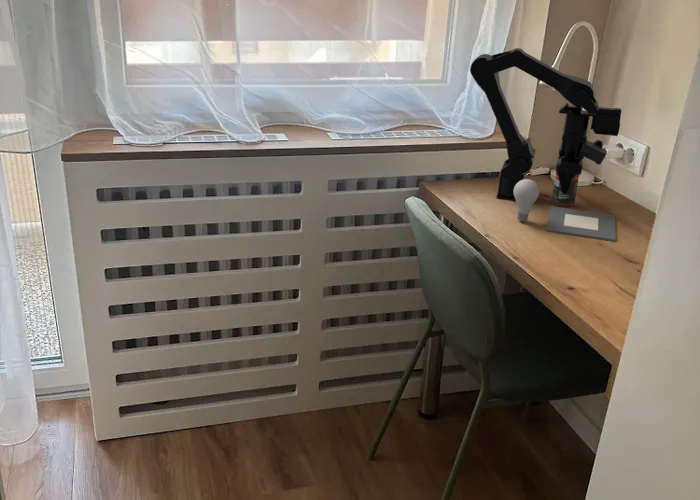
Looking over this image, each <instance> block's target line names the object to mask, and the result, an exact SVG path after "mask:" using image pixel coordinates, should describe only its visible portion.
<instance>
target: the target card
mask: <svg viewBox="0 0 700 500" xmlns="http://www.w3.org/2000/svg"><path fill="white" fill-rule="evenodd" d="M547 216H548V217H547V221H546V226H545V227H546V228H545V232H547V233H555V234H561V235H568V236H575V237H582V238H590V239H593V240H594V239H596V240H602V241H609V242H614V243H615V242H616V241H617V239H616V238H617V237H616V217H615V215H614V214H607V213H599V212H591V211H585V210H577V209H571V208H563V207H557V206H549V211H548V215H547Z"/></svg>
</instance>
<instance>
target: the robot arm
mask: <svg viewBox="0 0 700 500" xmlns="http://www.w3.org/2000/svg"><path fill="white" fill-rule="evenodd" d="M510 68H517V69H518V70H521V71H523V72H524V73H526V74H528V75H529V76H531V77H532V78H533V77H534V78H535V79H537V80H539V81H540V82H542V83H543V84H546V85H547V86H550V87H551V88H552V89H555V90H556V91H557V92H558V93H559V94H560V95H561V96H562V97H563V98H564V99H565V100H566V101H568V102H566V103H565V104H563V106H561V107H559V110H558V112H559V114H564V115H565V118H564V119H565V120H564V125H563V131H562V137H561V143H560V145H559V150H558V158H557V161H556V166H555V173H556V172H557V175H558V178H559V182H560V186H561V190H562V193H567V191H568V189H569V186H570V184H571V182H572V179H573V177H574V176H576V175H579V176H581V175H582V171H583V164H584V163H583V160H584V158H586V159H588V160H590V161H592V162H594V163H595V164H596V165H602V163H603V161H604V159H605V158H606V156H607V155H608V152H607V151H608V150H607V149H606V148H605V147H603V146H604V144H603V143H604V142H603V141H602V140H600V139H596V140H594V141H588V135H587V133H588V127H589V123H591V124H590V130H592V132H593V133H594V135H603V136H611V137H612V136H613V137H618V135H619V132H620V127H621V115H622V108H620V107H613V108H611V107H602V106H601V107H600V104H599V102H598V101H597V99H596V98H595V95H594V93H595V89H594V85H593V84H592V83H591V82H590V81H589V80H587V79H584V78H581V77H577V76H575V75H571V74H566V73H563V72H561V71H560V70H558V69H556V68H554V67H552V66H550V65H549V64H547V63H545V62H543V61H541V60H540V59H538V58H536V57H534V56H532V55H531V54H529V53H527V52H525V51H524V50H523V49H522V48H519V47H516V48H513V49H511V50H508V51H503V52H499V53H495V54H488V53H482V54H480V55H478V56H476V58H475V59H474V60H473V61H472V62H471V64H470V68H469V70H470V71H469V72H470V74H471V76H472V78H473V79H474V81H475V84H477V86H478V87H479V88H480V89H481V90H482V91H483V92H484V94H485V95H486V98H487V100H488V102H489V106H490V108H491V110H492V112H493V115H494V117H495V120H496V121H497V124H498V126H499V129H500V131H501V134H502V136H503V138H504V140H505V144H506V151H507V159H506V160H505V161H504V162H503V164H502V166H501V169H500V174H499V179H498V189H497V194H496V195H495V197H496V198H497V199H500V200H501V199H502V200H511V201H516V199H515V197H514V192H513V191H514V187H515V185H516V184H517V183H518V182H519V181H521V180H524V179H525V177H526V176H525V175H526V173H528V172H529V171H530V170H531V169H532V167H533V164H534V160H535V154H536V149H535V148H534V146H533V144H532V140H531V138H530V137H528V138H526V139H525V138H524V137H523V135H522V134H521V133H520V130H519V127H518V125H517V123H516V120H515V118H514V116H513V114H512V113H513V112H512V111H511V108H510V106H509V104H508V102H507V100H506V96H505V95H504V91H503V89H502V87H501V82H500V75H499V72H503V71H505V70H508V69H510ZM569 103H570V104H571V105H570V104H569ZM582 109H584V110H582ZM590 117H591V122H590Z"/></svg>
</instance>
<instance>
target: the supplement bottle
mask: <svg viewBox="0 0 700 500" xmlns="http://www.w3.org/2000/svg"><path fill="white" fill-rule="evenodd" d="M579 178H580V175H576V176H574V177H573V179H572V182H571V184H570V186H569V189H568V191H567V193H562V190H561V186H560V182H559V178H558V175H557V172H556V171H555V176H554V183H553V190H552V195H551V203H552V204H554V205H555V206H559V207H562V208H563V207H567V208H568V207H572V206H574V205H575V203H576V202H575V201H576V195H577V190H578V186H579Z"/></svg>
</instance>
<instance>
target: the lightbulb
mask: <svg viewBox="0 0 700 500" xmlns="http://www.w3.org/2000/svg"><path fill="white" fill-rule="evenodd" d="M513 192H514V197H515V199H516V200H515V201H516V207H517V208H516V211H517V217H516V218H517V220H518V221H519V222H521V223H523V222H526V221H528V219H529V215H530V213H531V209H532V206H533V204H534V203H535V202H536V201H537V199H538V198H539V195H540V187H539V185H538V184H537V182H535V180H532V179H531V178H524V180H521V181H519V182H518V183H517V184H516V185H515V187H514V191H513Z"/></svg>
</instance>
